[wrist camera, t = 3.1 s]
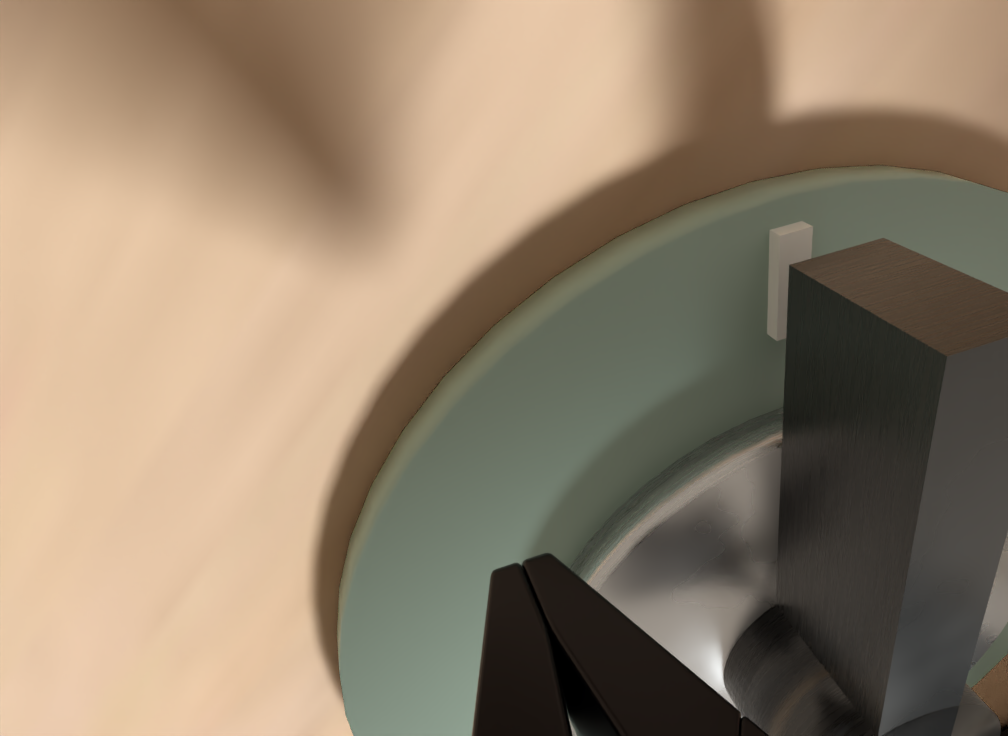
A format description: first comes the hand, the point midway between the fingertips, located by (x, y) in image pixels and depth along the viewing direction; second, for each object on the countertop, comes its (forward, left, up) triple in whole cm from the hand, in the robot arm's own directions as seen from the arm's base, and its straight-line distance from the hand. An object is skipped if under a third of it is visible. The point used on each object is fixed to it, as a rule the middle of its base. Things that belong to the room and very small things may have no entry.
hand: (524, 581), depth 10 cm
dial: (-5, -6, -3) cm, 8 cm away
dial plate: (-7, -6, -4) cm, 10 cm away
